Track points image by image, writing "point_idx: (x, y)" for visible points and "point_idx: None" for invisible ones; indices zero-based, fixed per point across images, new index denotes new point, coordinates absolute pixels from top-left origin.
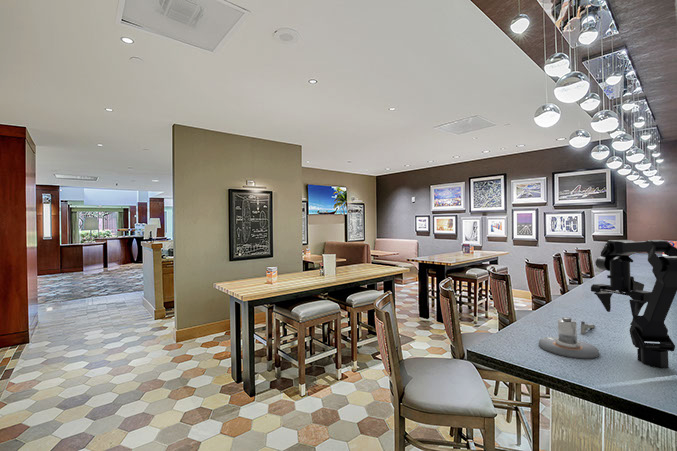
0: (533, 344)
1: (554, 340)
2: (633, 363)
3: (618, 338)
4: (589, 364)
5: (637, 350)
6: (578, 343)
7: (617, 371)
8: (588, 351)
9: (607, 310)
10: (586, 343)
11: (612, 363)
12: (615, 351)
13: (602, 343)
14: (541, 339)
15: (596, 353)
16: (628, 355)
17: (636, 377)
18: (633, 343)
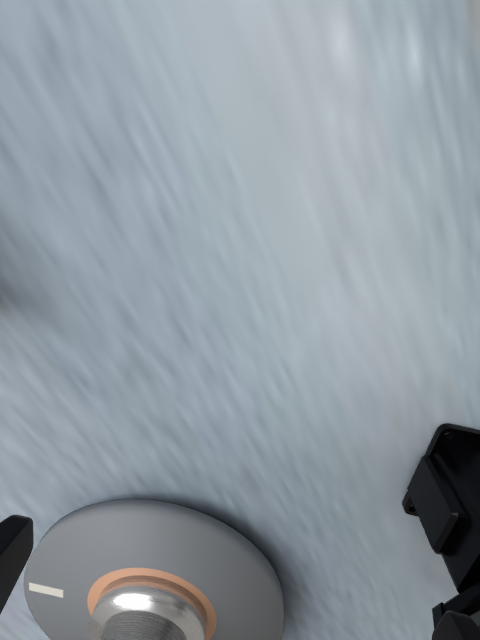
0: None
1: (75, 599)
2: (392, 499)
3: (87, 54)
4: (294, 634)
5: (431, 544)
6: (190, 632)
7: (389, 623)
8: (250, 619)
9: (16, 579)
10: (166, 527)
11: (338, 566)
12: (257, 401)
13: (134, 319)
14: (46, 627)
15: (283, 616)
16: (327, 407)
17: None
18: (439, 619)
